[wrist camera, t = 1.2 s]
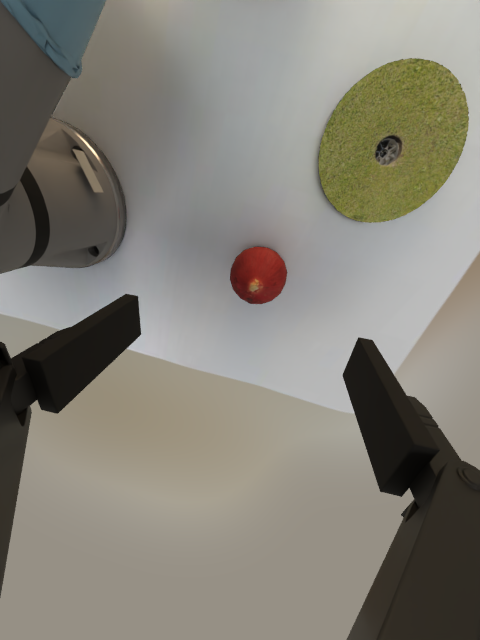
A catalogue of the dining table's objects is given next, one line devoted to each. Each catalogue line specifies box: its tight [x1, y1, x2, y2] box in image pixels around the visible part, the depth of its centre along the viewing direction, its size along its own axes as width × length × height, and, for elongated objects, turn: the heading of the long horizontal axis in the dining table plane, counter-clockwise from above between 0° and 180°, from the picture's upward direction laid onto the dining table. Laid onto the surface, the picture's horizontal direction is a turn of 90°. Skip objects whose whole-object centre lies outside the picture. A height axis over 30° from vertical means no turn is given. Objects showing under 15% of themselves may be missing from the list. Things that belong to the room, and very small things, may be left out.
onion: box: [230, 247, 287, 304], centre depth 25 cm, size 6×6×8 cm
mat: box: [319, 58, 469, 223], centre depth 21 cm, size 11×11×2 cm
